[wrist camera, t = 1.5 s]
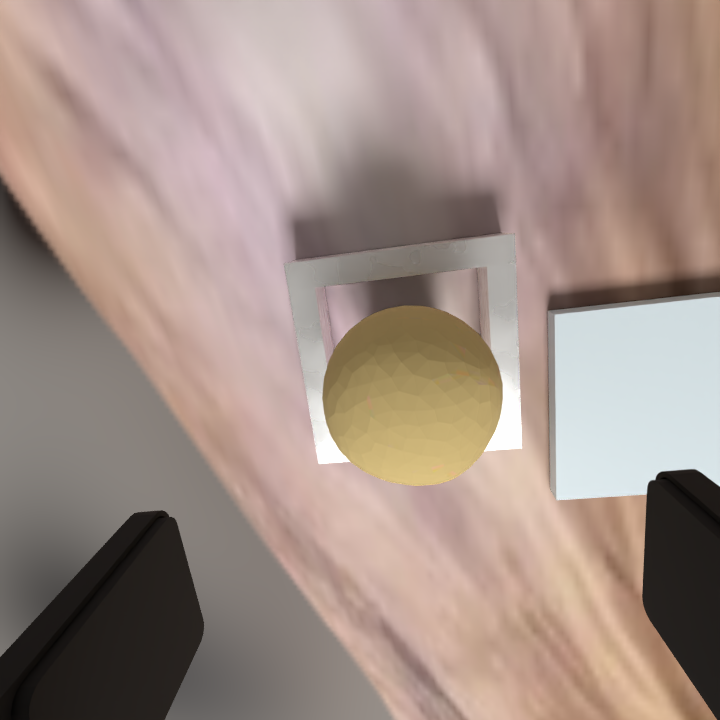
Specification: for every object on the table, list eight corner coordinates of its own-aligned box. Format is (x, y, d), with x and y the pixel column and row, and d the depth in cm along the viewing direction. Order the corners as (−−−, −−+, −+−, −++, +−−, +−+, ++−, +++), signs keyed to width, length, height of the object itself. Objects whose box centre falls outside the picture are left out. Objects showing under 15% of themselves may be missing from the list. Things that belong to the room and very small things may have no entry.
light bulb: (448, 416, 24) (484, 544, 14) (332, 386, 24) (289, 494, 14) (486, 300, 22) (557, 358, 12) (360, 268, 22) (332, 300, 12)
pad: (771, 285, 21) (789, 288, 20) (747, 476, 23) (762, 486, 22) (547, 310, 22) (554, 314, 21) (550, 489, 24) (556, 500, 23)
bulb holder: (501, 232, 21) (514, 233, 18) (509, 425, 24) (521, 447, 21) (296, 259, 22) (283, 263, 20) (326, 440, 25) (318, 463, 22)
